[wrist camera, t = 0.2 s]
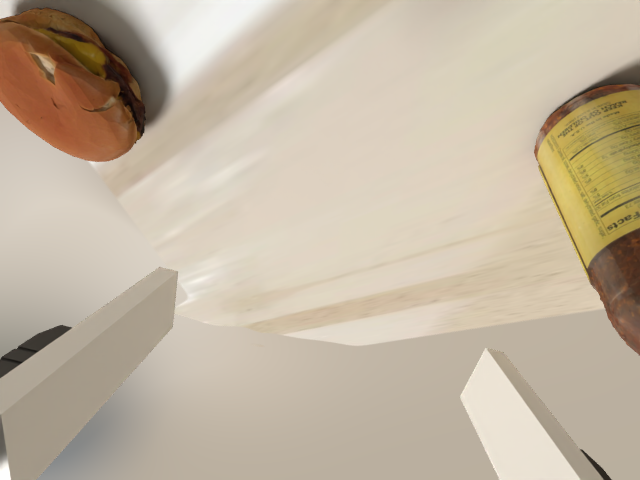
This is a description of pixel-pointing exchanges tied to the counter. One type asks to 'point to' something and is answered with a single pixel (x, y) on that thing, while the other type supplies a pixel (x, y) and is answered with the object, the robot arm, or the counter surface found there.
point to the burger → (68, 85)
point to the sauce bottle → (600, 193)
